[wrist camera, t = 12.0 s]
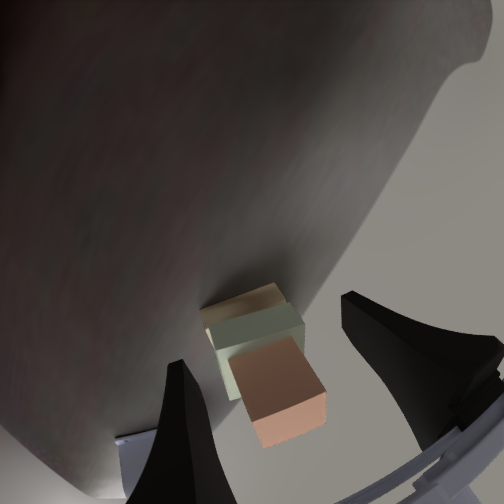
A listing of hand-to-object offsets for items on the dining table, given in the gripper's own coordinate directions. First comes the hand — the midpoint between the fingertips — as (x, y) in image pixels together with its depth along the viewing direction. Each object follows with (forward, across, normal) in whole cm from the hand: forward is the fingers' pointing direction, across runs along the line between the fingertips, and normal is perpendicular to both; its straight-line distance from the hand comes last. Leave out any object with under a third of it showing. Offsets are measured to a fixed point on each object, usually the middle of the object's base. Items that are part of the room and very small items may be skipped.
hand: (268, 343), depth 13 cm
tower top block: (+7, 0, +8) cm, 10 cm away
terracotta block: (+5, 0, +8) cm, 9 cm away
